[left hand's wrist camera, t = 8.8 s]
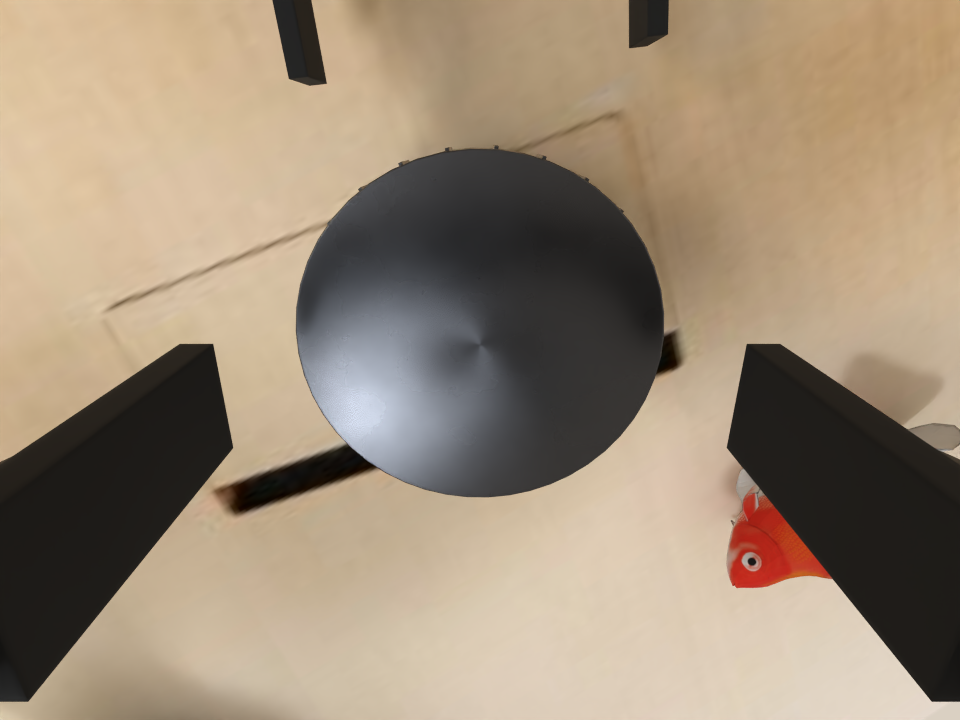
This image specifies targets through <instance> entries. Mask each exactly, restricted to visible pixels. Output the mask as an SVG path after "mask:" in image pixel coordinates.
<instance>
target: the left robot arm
mask: <svg viewBox="0 0 960 720" xmlns="http://www.w3.org/2000/svg"><path fill="white" fill-rule="evenodd" d="M232 449H233V444H232V439H231V434H230V429H229V424H228V418H227V413H226V408H225V403H224V398H223V393H222V388H221V382H220V377H219V372H218V367H217V362H216V357H215V351H214V346H213V344H179V345H178V346H176V347H175V348H173V349H172V350H170V351H169V352H167V353H166V354H164V355H163V356H161V357H160V358H158V359H157V360H155V361H154V362H152V363H151V364H149V365H148V366H146V367H145V368H143V369H142V370H140V371H139V372H137V373H136V374H134V375H133V376H132V377H130V378H129V379H127V380H126V381H124V382H123V383H121V384H120V385H118V386H117V387H115V388H114V389H112V390H111V391H109V392H108V393H106V394H105V395H103V396H102V397H100V398H99V399H97V400H96V401H94V402H93V403H91V404H90V405H88V406H87V407H85V408H84V409H82V410H81V411H79V412H78V413H76V414H75V415H73V416H72V417H71V418H69V419H68V420H66V421H65V422H63V423H62V424H60V425H59V426H57V427H56V428H54V429H53V430H51V431H50V432H48V433H47V434H45V435H44V436H42V437H41V438H39V439H38V440H36V441H35V442H33V443H32V444H30V445H29V446H27V447H26V448H24V449H23V450H21V451H20V452H18V453H17V454H15V455H14V456H12V457H10V458H8V459H6V460H4V461H1V462H0V702H28V701H29V700H30V699H31V697H32V696H33V695H34V694H35V693H36V691H37V690H38V689H39V688H40V686H41V685H42V684H43V683H44V681H45V680H46V679H47V678H48V676H49V675H50V674H51V673H52V671H53V670H54V669H55V668H56V667H57V665H58V664H59V663H60V662H61V660H62V659H63V658H64V657H65V655H66V654H67V653H68V652H69V650H70V649H71V648H72V647H73V646H74V644H75V643H76V642H77V641H78V639H79V638H80V637H81V636H82V634H83V633H84V632H85V631H86V629H87V628H88V627H89V626H90V624H91V623H92V622H93V621H94V620H95V618H96V617H97V616H98V615H99V613H100V612H101V611H102V610H103V608H104V607H105V606H106V605H107V603H108V602H109V601H110V600H111V598H112V597H113V596H114V595H115V594H116V592H117V591H118V590H119V589H120V587H121V586H122V585H123V584H124V582H125V581H126V580H127V579H128V577H129V576H130V575H131V574H132V572H133V571H134V570H135V569H136V568H137V566H138V565H139V564H140V563H141V561H142V560H143V559H144V558H145V556H146V555H147V554H148V553H149V551H150V550H151V549H152V548H153V546H154V545H155V544H156V543H157V542H158V540H159V539H160V538H161V537H162V535H163V534H164V533H165V532H166V530H167V529H168V528H169V527H170V525H171V524H172V523H173V522H174V520H175V519H176V518H177V517H178V516H179V514H180V513H181V512H182V511H183V509H184V508H185V507H186V506H187V504H188V503H189V502H190V501H191V499H192V498H193V497H194V496H195V494H196V493H197V492H198V491H199V490H200V488H201V487H202V486H203V485H204V483H205V482H206V481H207V480H208V478H209V477H210V476H211V475H212V473H213V472H214V471H215V470H216V468H217V467H218V466H219V465H220V464H221V462H222V461H223V460H224V459H225V457H226V456H227V455H228V454H229V452H230V451H231V450H232ZM727 449H728V450H729V451H730V452H731V454H732V455H733V456H734V457H735V459H736V460H737V461H738V462H739V464H740V465H741V466H742V467H743V468H744V470H745V471H746V472H747V473H748V475H749V476H750V477H751V478H752V480H753V481H754V482H755V483H756V485H757V486H758V487H759V488H760V490H761V491H762V492H763V493H764V494H765V496H766V497H767V498H768V499H769V501H770V502H771V503H772V504H773V506H774V507H775V508H776V509H777V511H778V512H779V513H780V514H781V516H782V517H783V518H784V519H785V520H786V522H787V523H788V524H789V525H790V527H791V528H792V529H793V530H794V532H795V533H796V534H797V535H798V537H799V538H800V539H801V540H802V542H803V543H804V544H805V545H806V546H807V548H808V549H809V550H810V551H811V553H812V554H813V555H814V556H815V558H816V559H817V560H818V561H819V563H820V564H821V565H822V566H823V568H824V569H825V570H826V571H827V572H828V574H829V575H830V576H831V577H832V579H833V580H834V581H835V582H836V584H837V585H838V586H839V587H840V589H841V590H842V591H843V592H844V594H845V595H846V596H847V597H848V598H849V600H850V601H851V602H852V603H853V605H854V606H855V607H856V608H857V610H858V611H859V612H860V613H861V615H862V616H863V617H864V618H865V620H866V621H867V622H868V623H869V624H870V626H871V627H872V628H873V629H874V631H875V632H876V633H877V634H878V636H879V637H880V638H881V639H882V641H883V642H884V643H885V644H886V646H887V647H888V648H889V649H890V650H891V652H892V653H893V654H894V655H895V657H896V658H897V659H898V660H899V662H900V663H901V664H902V665H903V667H904V668H905V669H906V670H907V671H908V673H909V674H910V675H911V676H912V678H913V679H914V680H915V681H916V683H917V684H918V685H919V686H920V688H921V689H922V690H923V691H924V693H925V694H926V695H927V696H928V697H929V699H930V700H931V701H932V702H960V459H957V458H955V457H953V456H951V455H948V454H946V453H944V452H942V451H939V450H937V449H936V448H934V447H933V446H931V445H930V444H928V443H927V442H925V441H924V440H922V439H921V438H919V437H918V436H916V435H915V434H913V433H912V432H910V431H909V430H907V429H906V428H904V427H903V426H901V425H900V424H898V423H897V422H895V421H894V420H892V419H891V418H889V417H888V416H887V415H885V414H884V413H882V412H881V411H879V410H878V409H876V408H875V407H873V406H872V405H870V404H869V403H867V402H866V401H864V400H863V399H861V398H860V397H858V396H857V395H855V394H854V393H852V392H851V391H849V390H848V389H846V388H845V387H843V386H842V385H840V384H839V383H837V382H836V381H834V380H833V379H831V378H830V377H828V376H827V375H826V374H824V373H823V372H821V371H820V370H818V369H817V368H815V367H814V366H812V365H811V364H809V363H808V362H806V361H805V360H803V359H802V358H800V357H799V356H797V355H796V354H794V353H793V352H791V351H790V350H788V349H787V348H785V347H784V346H782V345H781V344H747V346H746V351H745V357H744V362H743V367H742V372H741V377H740V382H739V387H738V393H737V398H736V403H735V408H734V413H733V418H732V424H731V429H730V434H729V439H728V444H727Z"/></svg>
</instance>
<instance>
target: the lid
mask: <svg viewBox="0 0 960 720" xmlns="http://www.w3.org/2000/svg"><path fill="white" fill-rule="evenodd" d="M398 164H399V167H397V168H394V169H392V170H390V171H389V172H387V173H385V174H384V175H382V176H381V177H379V178H377V179H376V180H374V181H372V182H371V183H369V184H368V185H365V186H363V187H360V188H359V189H358V190H359V192H358V193H357V194H356V195H355V196H353V197H352V198H351V199H350V200H349V201H348V202H347V203H346V204H345V205H344V206H343V207H342V208H341V209H340V211H339V212H338V213H337V214H336V215H335V216H334V217H333V218H332V220H330V221H329V222H328V223H327V224H328V226H327V227H326V228H325V230H324V231H323V233H322V234H321V236H320V237H319V239H318V241H317V243H316V245H315V247H314V249H313V251H312V253H311V255H310V257H309V259H308V261H307V265H306V268H305V271H304V274H303V277H302V280H301V284H300V289H299V295H298V301H297V307H296V336H297V344H298V353H299V357H300V361H301V365H302V369H303V372H304V376H305V378H306V381H307V383H308V386H309V388H310V391H311V393H312V396H313V397H314V399H315V401H316V403H317V404H318V406H319V408H320V410H321V412H322V413H323V415H324V416H325V418H326V419H327V420H328V422H329V423H330V424H331V426H332V427H333V428H334V430H335V431H336V432H337V433H338V434H339V435H340V437H341V438H342V439H343V440H344V441H345V442H346V443H347V444H348V445H349V446H350V447H351V448H352V449H353V450H355V451H356V452H357V453H358V454H359V455H361V456H362V457H363V458H364V459H366V460H367V461H368V462H370V463H371V464H373V465H374V466H376V467H377V468H379V469H381V470H382V471H384V472H385V473H387V474H389V475H391V476H393V477H395V478H397V479H399V480H401V481H403V482H405V483H408V484H411V485H414V486H417V487H419V488H422V489H425V490H429V491H434V492H438V493H442V494H447V495H455V496H463V497H496V496H506V495H513V494H517V493H522V492H527V491H531V490H534V489H537V488H540V487H543V486H546V485H549V484H552V483H554V482H556V481H558V480H561V479H563V478H565V477H567V476H569V475H571V474H573V473H574V472H576V471H578V470H579V469H581V468H583V467H584V466H586V465H588V464H589V463H590V462H592V461H593V460H594V459H596V458H597V457H598V456H599V455H601V454H602V453H603V452H605V451H606V450H607V449H608V448H609V447H610V446H611V445H612V444H613V443H614V442H615V441H616V440H617V439H618V438H619V437H620V436H621V435H622V433H623V432H624V431H625V430H626V428H627V427H628V426H629V424H630V423H631V422H632V421H633V419H634V418H635V416H636V415H637V413H638V411H639V410H640V408H641V406H642V405H643V403H644V401H645V400H646V397H647V395H648V393H649V390H650V388H651V386H652V384H653V381H654V379H655V375H656V372H657V368H658V365H659V361H660V358H661V351H662V344H663V338H664V309H663V301H662V294H661V288H660V284H659V281H658V277H657V274H656V270H655V267H654V264H653V262H652V260H651V258H650V255H649V253H648V251H647V248H646V246H645V244H644V243H643V241H642V239H641V238H640V236H639V235H638V233H637V231H636V230H635V228H634V227H633V225H632V223H631V222H630V221H629V220H628V219H627V218H626V216H625V215H624V214H623V212H624V211H623V210H622V209H620V208H618V207H617V206H616V205H615V204H614V203H613V202H612V201H611V200H610V199H609V198H608V197H606V196H605V195H604V194H603V193H602V192H601V191H600V190H599V189H597V188H596V187H595V186H593V185H592V184H590V183H589V182H588V181H589V179H588V178H586V177H583V176H580V175H577V174H575V173H574V172H571V171H569V170H567V169H565V168H563V167H561V166H559V165H557V164H554V163H552V162H550V161H547V160H546V157H545V156H542V155H537V156H536V157H534V156H531V155H528V154H524V153H520V152H515V151H509V150H503V149H498V146H497V145H493V148H466V149H458V150H452V147H449V148H445V151H444V152H441V153H437V154H433V155H430V156H426V157H422V158H418V159H415V160H413V161H411V162H410V161H409V160H407V161H403V162H400V163H398Z"/></svg>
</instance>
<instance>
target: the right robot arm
mask: <svg viewBox="0 0 960 720" xmlns="http://www.w3.org/2000/svg"><path fill="white" fill-rule="evenodd" d="M273 5H274V10H275V14H276V19H277V24H278V29H279V34H280V38H281V43H282V48H283V53H284V57H285V62H286V67H287V72H288V77H289V79H291V80H294V81H297V82H300V83H303V84H306V85H309V86H311V85H319V84H327V82H326V77H325V72H324V66H323V61H322V55H321V50H320V45H319V39H318V34H317V29H316V23H315V18H314V13H313V7H312V2H311V0H273ZM668 6H669V0H629V48H635V47H644V46H648V45H650V44H652V43H653V42H655V41H657V40H659V39H660V38H662V37H664V36H666V35H667V34H668Z"/></svg>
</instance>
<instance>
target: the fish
mask: <svg viewBox="0 0 960 720" xmlns="http://www.w3.org/2000/svg"><path fill="white" fill-rule="evenodd" d="M908 430H909V431H910V432H912V433H913V434H915V435H916V436H918V437H919V438H921V439H922V440H924V441H925V442H927V443H928V444H930V445H931V446H933V447H934V448H936V449H937V450H939V451H942V452H944V451H949V450H953V449H954V448H956V447H957V446H958V445H959V444H960V429H958V428H957V427H956V426H955V425H946V424H937V423H932V424H927V425H922V426H918V427H915V428H911V429H908ZM736 490H737V494H738V496H739V498H740V499H741V502H742V512H741V513H740V514H739V515H738V517H737V518H736V521H735V522H733V521H732V520H731V522H732V524H733V529H732V532H731V536H730V541H729V546H728V552H727V571H728V574H729V578H730V580H731V583H732V585H733V586H734V585H735V587H736V588H759V587H766V586H770V585H772V584H775V583H778V582H780V581H783V580H785V579H789V578H794V577H800V576H818V577H822V578H828V579H832V577H831V576H830V575H829V574H828V572H827V571H826V570H825V569H824V568H823V566H822V565H821V564H820V563H819V561H818V560H817V559H816V558H815V556H814V555H813V554H812V553H811V551H810V550H809V549H808V548H807V546H806V545H805V544H804V543H803V542H802V540H801V539H800V538H799V537H798V535H797V534H796V533H795V532H794V530H793V529H792V528H791V527H790V525H789V524H788V523H787V522H786V520H785V519H784V518H783V517H782V516H781V514H780V513H779V512H778V511H777V509H776V508H775V507H774V506H773V504H772V503H771V502H770V501H769V499H768V498H767V497H766V496H765V495H764V496H763V492H762V491H761V490H760V488H759V487H758V486H757V485H756V483H755V482H754V481H753V480H752V478H751V477H750V476H749V475H748V473H747V472H746V471H745V470H744V469H742V470H741V471H740V473H739V477H738V480H737V484H736Z"/></svg>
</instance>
